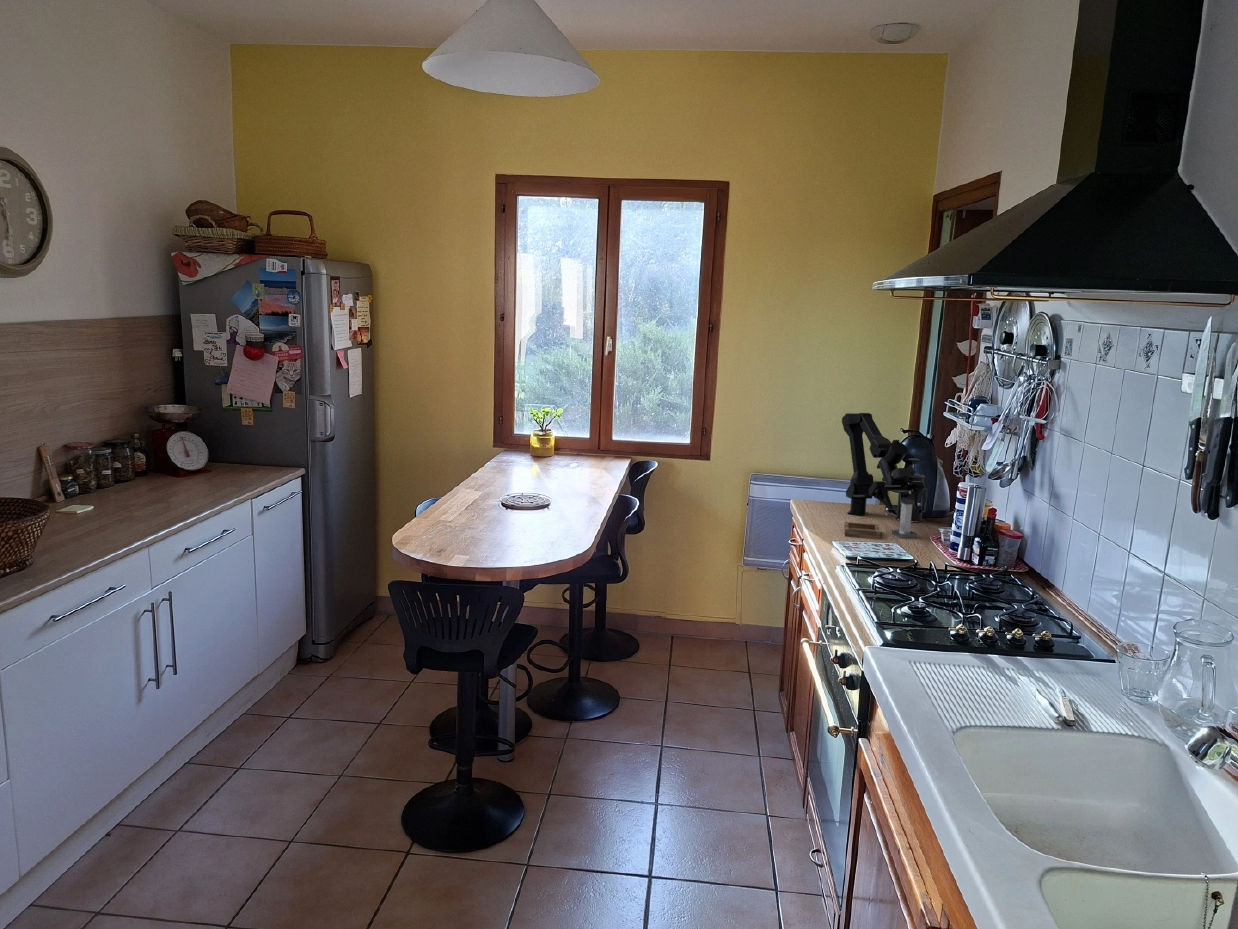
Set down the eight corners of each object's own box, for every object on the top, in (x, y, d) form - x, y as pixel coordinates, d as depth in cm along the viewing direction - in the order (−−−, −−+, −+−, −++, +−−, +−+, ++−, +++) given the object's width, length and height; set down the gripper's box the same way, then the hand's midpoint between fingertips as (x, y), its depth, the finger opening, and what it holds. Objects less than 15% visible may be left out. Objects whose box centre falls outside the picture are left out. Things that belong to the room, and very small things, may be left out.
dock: (844, 528, 306) (844, 521, 305) (877, 531, 303) (878, 524, 303) (844, 536, 295) (845, 529, 294) (879, 538, 292) (880, 531, 292)
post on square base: (900, 538, 294) (903, 500, 292) (891, 534, 300) (894, 497, 298) (916, 538, 295) (920, 500, 293) (907, 533, 301) (910, 496, 299)
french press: (899, 522, 319) (905, 460, 315) (889, 516, 328) (894, 456, 324) (930, 522, 320) (936, 461, 316) (920, 517, 329) (925, 457, 325)
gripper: (874, 458, 299) (888, 496, 290) (924, 458, 302) (939, 495, 293) (862, 477, 307) (875, 514, 298) (910, 476, 311) (924, 513, 302)
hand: (903, 508), depth 298 cm, fingers open, 9 cm apart
